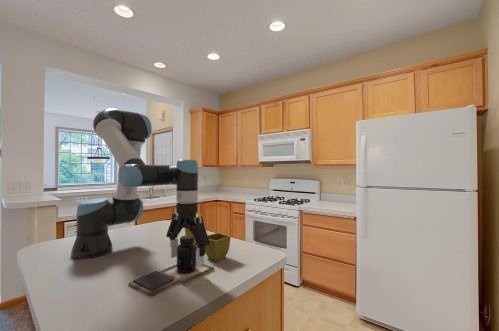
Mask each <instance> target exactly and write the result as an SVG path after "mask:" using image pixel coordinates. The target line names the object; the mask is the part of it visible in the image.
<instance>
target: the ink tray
mask: <svg viewBox="0 0 499 331" xmlns="http://www.w3.org/2000/svg"><path fill="white" fill-rule="evenodd" d="M156 271H157V270H156ZM157 272H159V271H157ZM159 273H160V272H159ZM162 274H163V273H162ZM164 275H165V274H164ZM167 276H168V275H167ZM169 277H170V276H169ZM172 278H173V277H172ZM127 284H128V286H129V287H131V288H132V289H135V290H137V291H139V292H141V293H142V294H144V295H146V296H148V297H150V298H152V297H154V296H155V295H158V294H160V293H161V292H163V291H165V290H167V289H170V288H171V287H174V286H175V285H177V284H179V283H178V279H175V278H174V280H173V281H171V282H169V283H167V284H165V285H163V286H161V287H159V288H157V289H155V290H153V291H151V290H149V289H147V288H144V287H142V286H140V285H138V284H136V283H134V282H133V280H131V281H128V283H127Z"/></svg>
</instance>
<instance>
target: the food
mask: <svg viewBox="0 0 499 331" xmlns="http://www.w3.org/2000/svg"><path fill="white" fill-rule="evenodd" d="M196 217H203V215H202V214H201V213H198V212H197V213H196ZM193 227H194V226H193ZM186 235H190V236H193V234H192V232H191V231H190V230H189V229H186V228H184V236H186ZM193 237H194V236H193ZM193 243H194V244H195V245H196V244H197V242H196V240H195V238H194V242H193Z"/></svg>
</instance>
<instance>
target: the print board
mask: <svg viewBox="0 0 499 331" xmlns="http://www.w3.org/2000/svg"><path fill="white" fill-rule="evenodd" d="M214 270H215V268H214V266H210V265H207V264H205V263H204V264H203V265H201V266H197V261H196V269H195V271H194V272H192V273H189V274H180V273H178V272H177V263H176V264H174V265H172V266H169V267H167V268H164V269H162V270H159V271H158V272H160V273H163V274H165V275H168V276H170V277H173V278H175V279H178V283H177V284H179V285H183V286H186V285H188V284H190V283H192V282H194V281H196V280H198V279H200V278H201V277H203V276H206V275H207V274H209V273H211V272H212V271H214Z"/></svg>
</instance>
